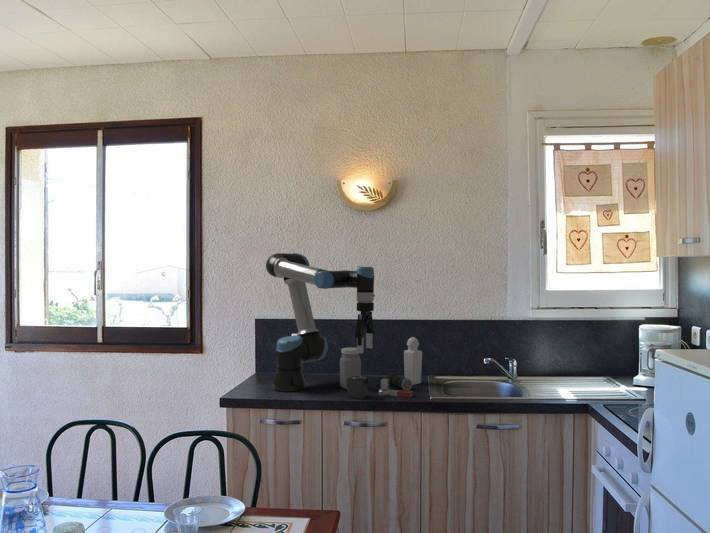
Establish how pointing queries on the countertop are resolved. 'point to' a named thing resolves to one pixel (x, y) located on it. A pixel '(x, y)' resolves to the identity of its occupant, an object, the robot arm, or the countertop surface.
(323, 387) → the countertop surface
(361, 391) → the speaker cube
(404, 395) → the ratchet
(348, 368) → the jar
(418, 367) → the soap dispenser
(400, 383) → the flashlight
